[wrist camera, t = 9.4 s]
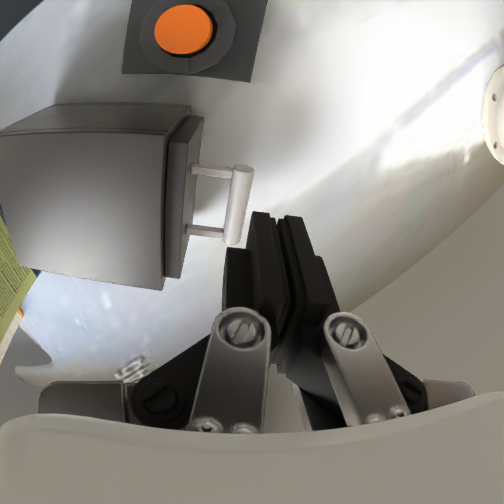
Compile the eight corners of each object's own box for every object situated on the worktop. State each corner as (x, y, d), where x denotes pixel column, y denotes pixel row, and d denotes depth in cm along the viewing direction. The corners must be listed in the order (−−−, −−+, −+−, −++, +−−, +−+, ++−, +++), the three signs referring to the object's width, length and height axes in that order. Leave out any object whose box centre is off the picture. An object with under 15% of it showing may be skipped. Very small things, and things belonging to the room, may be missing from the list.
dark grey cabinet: (191, 106, 21) (165, 135, 14) (181, 224, 28) (162, 291, 21) (52, 104, 19) (-12, 137, 12) (62, 210, 26) (19, 266, 19)
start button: (217, 10, 14) (215, 5, 13) (208, 56, 16) (205, 55, 15) (165, 7, 14) (159, 4, 12) (157, 53, 16) (150, 53, 14)
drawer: (257, 124, 21) (263, 152, 16) (236, 231, 28) (235, 286, 22) (66, 112, 19) (16, 138, 13) (75, 212, 25) (41, 257, 20)
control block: (266, 3, 16) (270, -5, 13) (249, 81, 20) (250, 84, 18) (139, -5, 14) (125, -11, 12) (127, 72, 19) (112, 75, 16)
